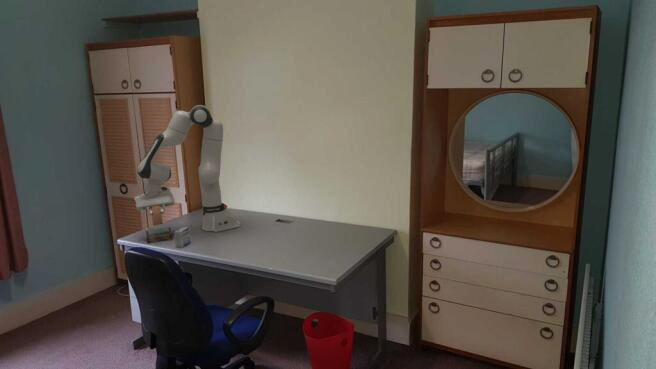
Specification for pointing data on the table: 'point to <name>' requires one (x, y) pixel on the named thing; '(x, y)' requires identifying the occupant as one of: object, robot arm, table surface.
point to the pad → (160, 230)
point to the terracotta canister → (157, 215)
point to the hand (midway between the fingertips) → (157, 213)
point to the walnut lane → (159, 237)
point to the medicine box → (182, 237)
